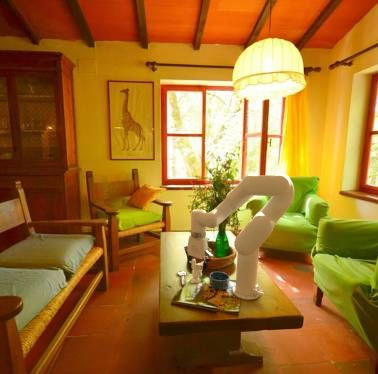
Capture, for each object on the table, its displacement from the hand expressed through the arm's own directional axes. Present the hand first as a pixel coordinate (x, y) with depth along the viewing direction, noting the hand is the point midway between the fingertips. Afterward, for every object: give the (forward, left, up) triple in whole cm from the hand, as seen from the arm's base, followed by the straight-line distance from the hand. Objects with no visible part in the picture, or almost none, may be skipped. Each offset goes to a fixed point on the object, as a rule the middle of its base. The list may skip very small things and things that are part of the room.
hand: (197, 266), depth 129 cm
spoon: (+7, +3, -8) cm, 11 cm away
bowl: (-11, -4, -8) cm, 14 cm away
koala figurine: (0, 0, -8) cm, 8 cm away
